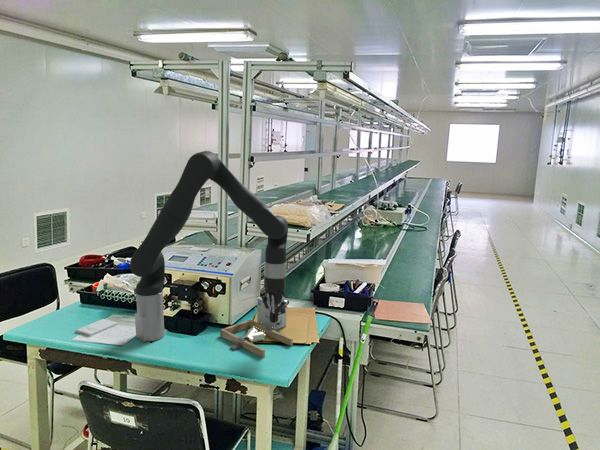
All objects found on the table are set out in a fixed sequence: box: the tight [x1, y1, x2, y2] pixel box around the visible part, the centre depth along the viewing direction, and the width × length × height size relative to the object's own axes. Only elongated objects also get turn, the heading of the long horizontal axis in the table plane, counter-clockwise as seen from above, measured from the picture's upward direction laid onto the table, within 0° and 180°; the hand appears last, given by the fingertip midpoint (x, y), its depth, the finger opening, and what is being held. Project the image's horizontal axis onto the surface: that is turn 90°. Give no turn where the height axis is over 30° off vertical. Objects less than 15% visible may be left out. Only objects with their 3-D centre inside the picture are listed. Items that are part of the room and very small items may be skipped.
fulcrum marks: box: [229, 327, 281, 351], centre depth 171 cm, size 22×3×3 cm, turn 135°
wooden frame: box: [219, 319, 294, 358], centre depth 171 cm, size 14×24×2 cm, turn 45°
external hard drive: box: [75, 318, 119, 337], centre depth 179 cm, size 2×8×12 cm
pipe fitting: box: [242, 328, 267, 344], centre depth 170 cm, size 8×4×7 cm
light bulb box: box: [256, 296, 287, 330], centre depth 185 cm, size 11×7×11 cm, turn 44°
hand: (273, 322), depth 163 cm, fingers closed
